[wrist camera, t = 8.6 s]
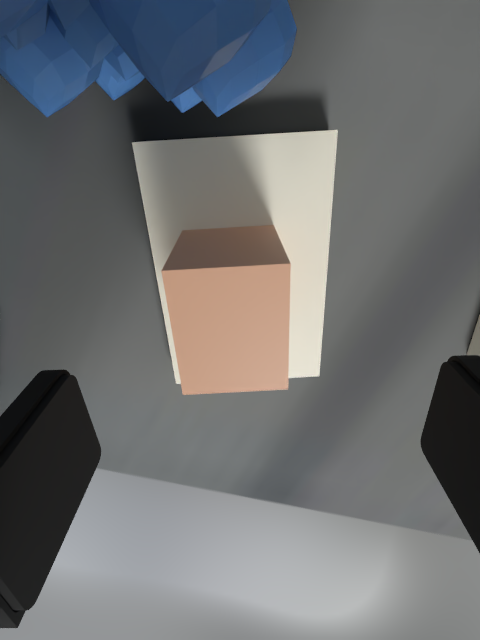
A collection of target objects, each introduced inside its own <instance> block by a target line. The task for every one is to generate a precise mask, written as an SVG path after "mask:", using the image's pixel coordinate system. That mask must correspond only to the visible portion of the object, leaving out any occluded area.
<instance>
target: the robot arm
mask: <svg viewBox="0 0 480 640" xmlns="http://www.w3.org/2000/svg"><path fill="white" fill-rule="evenodd" d="M421 448H422V451H423V453H424V455H425V457H426V459H427V460H428V462H429V464H430V466H431V467H432V469H433V471H434V473H435V475H436V476H437V478H438V480H439V482H440V483H441V485H442V487H443V489H444V491H445V492H446V494H447V496H448V498H449V499H450V501H451V503H452V505H453V506H454V508H455V510H456V512H457V514H458V515H459V517H460V519H461V521H462V522H463V524H464V526H465V528H466V530H467V531H468V533H469V535H470V537H471V538H472V540H473V542H474V543H475V545H476V547H477V549H478V551H479V553H480V356H478V355H464V356H452V357H450V358H449V359H448V361H447V362H444V363H443V364H442V366H441V368H440V372H439V375H438V379H437V382H436V386H435V390H434V393H433V397H432V400H431V404H430V407H429V411H428V415H427V418H426V422H425V425H424V429H423V432H422V436H421ZM100 456H101V447H100V444H99V441H98V438H97V436H96V433H95V430H94V427H93V424H92V422H91V419H90V416H89V413H88V410H87V407H86V405H85V402H84V399H83V396H82V393H81V390H80V388H79V385H78V382H77V379H76V377H75V376H73V375H70V373H69V372H68V371H67V370H44V371H41V372H39V373H38V374H37V375H36V376H35V377H34V379H33V380H32V381H31V382H30V383H29V384H28V385H27V387H26V388H25V389H24V390H23V391H22V392H21V393H20V395H19V396H18V397H17V398H16V399H15V400H14V401H13V403H12V404H11V405H10V406H9V407H8V408H7V409H6V411H5V412H4V413H3V414H2V415H1V416H0V628H18V626H19V624H20V622H21V619H22V617H23V615H24V613H25V611H26V610H29V609H30V608H31V607H32V606H33V605H34V604H35V602H36V600H37V598H38V596H39V594H40V592H41V590H42V587H43V585H44V583H45V581H46V578H47V576H48V574H49V572H50V570H51V567H52V565H53V563H54V561H55V558H56V556H57V554H58V552H59V549H60V547H61V545H62V543H63V541H64V538H65V536H66V534H67V532H68V530H69V527H70V525H71V523H72V520H73V518H74V516H75V514H76V512H77V510H78V507H79V505H80V503H81V501H82V498H83V496H84V494H85V492H86V489H87V487H88V485H89V483H90V481H91V478H92V476H93V474H94V471H95V470H96V467H97V465H98V463H99V460H100Z"/></svg>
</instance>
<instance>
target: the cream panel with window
mask: <svg viewBox="0 0 480 640" xmlns="http://www.w3.org/2000/svg"><path fill="white" fill-rule="evenodd" d="M467 355H478V356H480V315H479V318H478V321H477V324H476V327H475V330H474V333H473V337H472V340H471V343H470V346H469V349H468V352H467Z"/></svg>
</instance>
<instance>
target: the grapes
mask: <svg viewBox="0 0 480 640" xmlns="http://www.w3.org/2000/svg"><path fill="white" fill-rule="evenodd" d="M296 31H297V28H296V25H295V22H294V19H293V16H292V13H291V10H290V7H289V4H288V1H287V0H0V74H1V75H2V76H3V77H4V78H5V79H6V80H7V81H8V82H9V83H10V84H11V85H12V86H13V87H14V88H15V89H16V90H18V91H19V92H20V93H21V94H22V95H23V96H24V97H25V98H26V99H27V100H28V101H29V102H31V103H32V104H33V105H34V106H35V107H36V108H37V109H38V110H39V111H41V112H42V113H43V114H44V115H45V116H46V117H48V116H50V115H52V114H53V113H55V112H57V111H58V110H60V109H61V108H63V107H65V106H66V105H68V104H69V103H70V102H71V101H72V100H74V99H75V98H76V97H77V96H78V95H79V94H80V93H82V92H83V91H84V90H85V89H86V88H87V87H88V86H89V85H91V84H92V83H93V82H94V81H96V83H97V84H98V85H99V86H100V87H101V88H102V89H103V90H104V91H105V92H106V93H107V94H108V95H109V96H110V97H111V98H112V99H113V100H116V99H117V98H119V97H120V96H122V95H124V94H125V93H127V92H129V91H130V90H131V89H132V88H134V87H135V86H136V85H138V84H139V83H140V82H141V81H142V80H143V79H144V78H146V79H147V80H148V81H149V82H150V83H151V85H152V86H153V87H154V88H155V89H156V90H157V91H158V92H159V93H160V94H161V95H162V97H163V98H164V99H165V100H166V101H167V102H169V101H170V100H171V101H172V102H173V103H174V105H175V106H176V107H177V108H178V109H179V110H180V111H181V112H182V113H184V112H185V111H187V110H189V109H190V108H192V107H193V106H195V105H197V104H198V103H200V102H201V101H203V102H204V103H205V104H206V105H207V106H208V107H209V108H210V110H211V111H212V112H213V113H214V114H215V115H216V116H217V117H219V116H220V115H222V114H224V113H225V112H227V111H229V110H230V109H232V108H233V107H235V106H237V105H238V104H240V103H242V102H243V101H245V100H246V99H248V98H250V97H251V96H253V95H255V94H256V93H258V92H259V91H261V90H262V89H263V88H264V87H265V86H266V85H267V84H268V83H269V82H270V81H271V80H272V79H273V78H274V77H275V76H276V75H277V73H278V72H279V71H280V70H281V69H282V67H283V66H284V65H285V63H286V62H287V61H288V59H289V58H290V57H291V54H292V49H293V45H294V40H295V35H296Z"/></svg>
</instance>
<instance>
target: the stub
mask: <svg viewBox="0 0 480 640" xmlns="http://www.w3.org/2000/svg"><path fill="white" fill-rule="evenodd" d="M337 134H338V130H324V131H308V132H291V133H275V134H258V135H242V136H225V137H209V138H192V139H175V140H159V141H142V142H132V146H133V151H134V157H135V162H136V168H137V173H138V178H139V184H140V189H141V195H142V200H143V206H144V211H145V217H146V222H147V227H148V233H149V238H150V244H151V249H152V255H153V260H154V265H155V271H156V276H157V282H158V287H159V293H160V298H161V304H162V309H163V314H164V320H165V325H166V331H167V336H168V342H169V347H170V353H171V358H172V363H173V369H174V374H175V380H176V384H181V386H182V392H183V395H190V394H209V393H228V392H247V391H266V390H284V389H288V378H296V377H314V376H319V372H320V359H321V346H322V332H323V319H324V306H325V293H326V279H327V266H328V253H329V240H330V226H331V213H332V200H333V187H334V173H335V160H336V147H337Z"/></svg>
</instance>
